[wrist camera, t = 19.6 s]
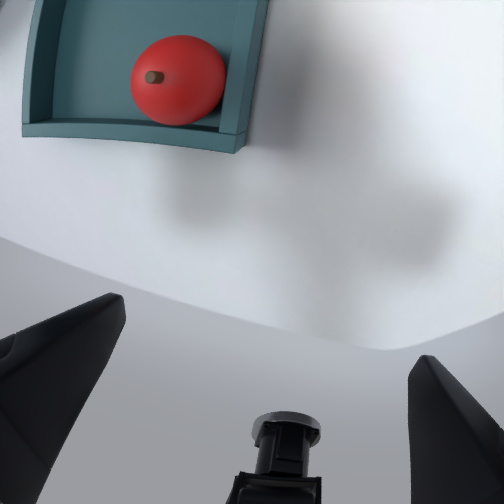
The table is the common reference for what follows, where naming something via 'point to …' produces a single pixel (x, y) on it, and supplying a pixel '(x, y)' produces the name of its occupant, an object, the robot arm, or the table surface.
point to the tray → (122, 62)
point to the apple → (178, 80)
